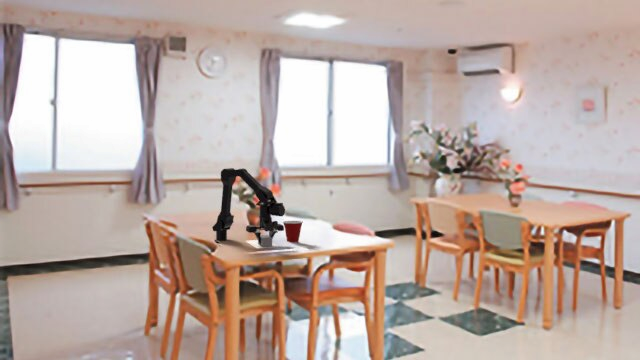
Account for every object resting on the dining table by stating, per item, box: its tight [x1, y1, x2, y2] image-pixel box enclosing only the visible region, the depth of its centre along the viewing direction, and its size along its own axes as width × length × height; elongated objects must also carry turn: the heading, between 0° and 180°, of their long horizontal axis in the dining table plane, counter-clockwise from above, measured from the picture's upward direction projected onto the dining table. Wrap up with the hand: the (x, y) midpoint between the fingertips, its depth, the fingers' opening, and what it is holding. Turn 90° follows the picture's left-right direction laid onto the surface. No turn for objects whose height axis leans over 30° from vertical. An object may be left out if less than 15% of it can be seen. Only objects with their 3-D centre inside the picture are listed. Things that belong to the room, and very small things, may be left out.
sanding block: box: [258, 234, 273, 248], centre depth 301 cm, size 8×5×4 cm, turn 24°
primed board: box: [245, 239, 280, 249], centre depth 306 cm, size 20×12×1 cm, turn 24°
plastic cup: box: [282, 220, 304, 243], centre depth 314 cm, size 11×11×12 cm
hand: (264, 244), depth 301 cm, fingers closed on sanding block, 5 cm apart
